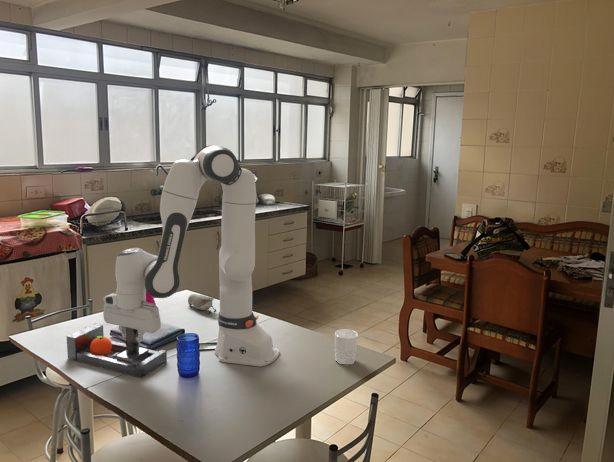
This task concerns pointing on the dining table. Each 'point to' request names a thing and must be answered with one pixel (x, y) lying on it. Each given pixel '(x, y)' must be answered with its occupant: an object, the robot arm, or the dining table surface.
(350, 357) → the white cup
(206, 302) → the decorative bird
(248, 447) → the dining table surface
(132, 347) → the ram
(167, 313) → the dining table surface
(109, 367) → the press
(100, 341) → the clementine
